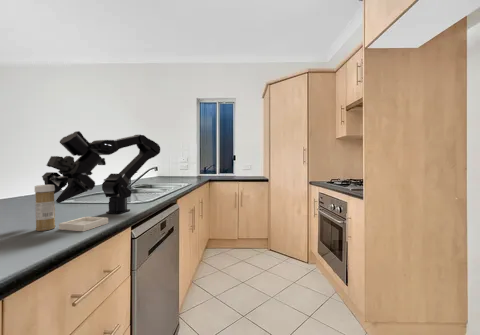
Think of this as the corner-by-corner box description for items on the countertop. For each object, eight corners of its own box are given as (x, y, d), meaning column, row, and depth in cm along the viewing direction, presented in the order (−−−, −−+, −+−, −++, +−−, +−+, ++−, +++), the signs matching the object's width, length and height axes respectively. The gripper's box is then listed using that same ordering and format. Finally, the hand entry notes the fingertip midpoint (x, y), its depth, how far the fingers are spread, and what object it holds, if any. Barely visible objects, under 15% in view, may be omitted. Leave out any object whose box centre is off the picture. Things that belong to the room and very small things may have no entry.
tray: (85, 221, 75) (85, 216, 75) (108, 223, 73) (108, 217, 73) (59, 229, 66) (59, 223, 66) (83, 231, 64) (83, 225, 64)
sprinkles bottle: (55, 226, 70) (54, 184, 70) (55, 229, 66) (54, 185, 66) (35, 228, 67) (35, 184, 67) (34, 232, 63) (33, 186, 63)
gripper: (48, 148, 75) (5, 183, 65) (85, 147, 69) (44, 185, 58) (73, 171, 83) (37, 205, 72) (108, 171, 76) (75, 209, 66)
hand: (47, 201), depth 67 cm, fingers open, 9 cm apart
